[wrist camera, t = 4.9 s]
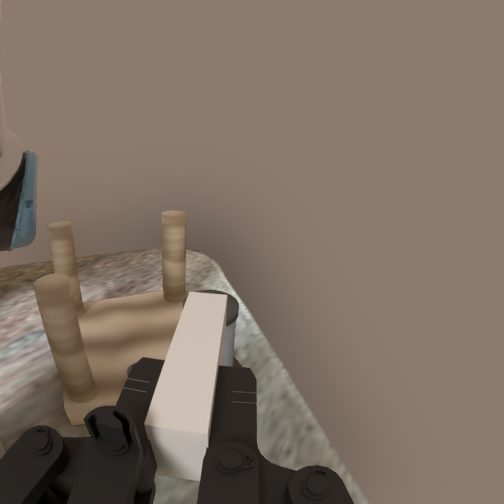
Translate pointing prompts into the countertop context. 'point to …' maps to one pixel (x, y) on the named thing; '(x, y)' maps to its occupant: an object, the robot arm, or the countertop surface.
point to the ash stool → (108, 321)
